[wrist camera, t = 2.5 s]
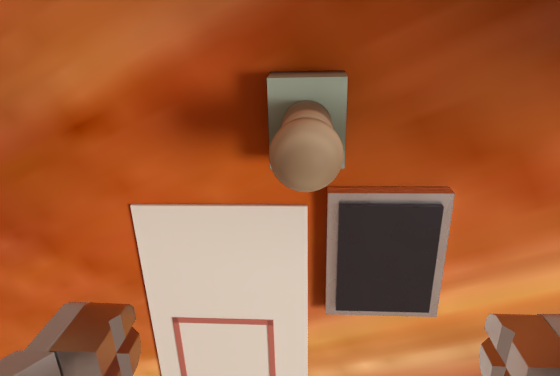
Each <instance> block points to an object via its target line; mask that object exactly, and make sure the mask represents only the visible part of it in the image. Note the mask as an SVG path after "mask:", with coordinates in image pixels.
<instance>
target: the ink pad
mask: <svg viewBox="0 0 560 376" xmlns="http://www.w3.org/2000/svg"><path fill="white" fill-rule="evenodd" d="M454 196H455V193H454V192H453V191H452V189H451V188H450V187H327V233H326V286H325V312H326V314H341V315H382V316H423V317H436V316H437V309H438V303H439V296H440V289H441V283H442V276H443V269H444V263H445V256H446V249H447V243H448V236H449V229H450V223H451V216H452V209H453V202H454Z"/></svg>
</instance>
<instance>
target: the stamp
mask: <svg viewBox="0 0 560 376" xmlns="http://www.w3.org/2000/svg"><path fill="white" fill-rule="evenodd" d="M347 84H348V76H347V74H346V73H345V71H300V72H270V74H269V75H268V77H267V98H268V124H269V161H270V169H272V171H273V173H274V174H275V176H276V177H277V179H278V180H279V181H280V182H281V183H282V184H284V185H285V186H287V187H288V188H290V189H292V190H295V191H300V192H313V191H317V190H320V189H322V188H324V187H326V186H327V185H329V184H330V183H331V182H332V181H333V180H334V179H335V178H336V176H337V175H338V173H339V172H340V169H341V168H345V140H346V112H347Z"/></svg>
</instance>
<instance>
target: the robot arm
mask: <svg viewBox="0 0 560 376" xmlns="http://www.w3.org/2000/svg"><path fill="white" fill-rule="evenodd" d="M135 320H136V315H135V310H134V307H133V306H131V305H130V304H113V303H93V302H90V303H87V302H68V303H66V304H64V305H63V306H62V307H61V308H60V309H59V311H58V312H57V313H56V314H55V315H54V316H53V318H52V319H51V320H50V321H49V322H48V323H47V324H46V326H45V327H44V328H43V329H42V330H41V331H40V333H39V334H38V335H37V336H36V337H35V338H34V340H33V341H32V342H31V343H30V344H29V345H28V347H27V348H26V349H25V350H24V351H16V352H14V353H12V354H10V355H8V356H6V357H4V358H3V359H1V360H0V376H133V374H134V372H135V370H136V368H137V366H138V362H139V357H140V353H141V341H140V335H139V333H138V332H137V331H136V330H135V329H134V328H133V327H132V325H133V324H134V322H135ZM485 330H486V332H487V334H488V336H489V338H488V339H486V340H485V341H484V342H483V343H482V344H481V348H480V354H479V360H480V370H481V373H482V376H560V314H537V315H524V314H490V315H489V316H488V318H487V319H486V324H485Z"/></svg>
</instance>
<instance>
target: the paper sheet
mask: <svg viewBox="0 0 560 376" xmlns="http://www.w3.org/2000/svg"><path fill="white" fill-rule="evenodd" d="M130 207H131V213H132V218H133V224H134V229H135V234H136V240H137V245H138V250H139V256H140V261H141V267H142V272H143V277H144V283H145V288H146V293H147V299H148V304H149V310H150V315H151V320H152V326H153V331H154V336H155V342H156V347H157V353H158V358H159V363H160V369H161V374H162V376H308V205H265V204H131V205H130Z"/></svg>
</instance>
